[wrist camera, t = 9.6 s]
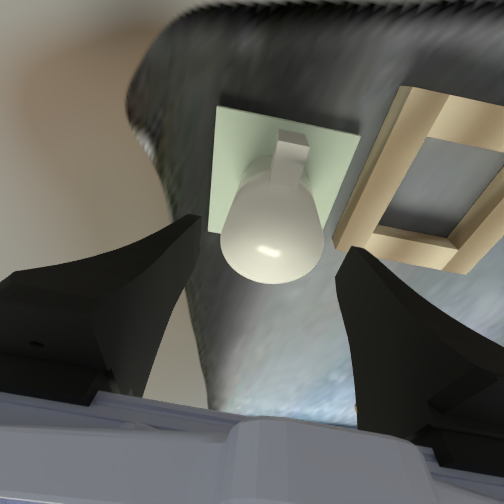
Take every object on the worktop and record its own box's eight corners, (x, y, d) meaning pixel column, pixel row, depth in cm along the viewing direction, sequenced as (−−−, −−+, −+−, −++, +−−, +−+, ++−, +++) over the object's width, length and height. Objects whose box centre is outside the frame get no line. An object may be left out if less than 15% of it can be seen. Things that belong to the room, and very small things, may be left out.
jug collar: (575, 123, 14) (605, 128, 13) (454, 262, 20) (465, 274, 19) (400, 85, 14) (412, 86, 12) (331, 238, 20) (335, 249, 19)
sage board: (358, 134, 15) (361, 136, 15) (313, 247, 21) (314, 251, 20) (218, 105, 15) (216, 106, 15) (209, 227, 20) (207, 231, 20)
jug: (298, 226, 19) (305, 291, 13) (235, 214, 19) (216, 274, 13) (330, 131, 15) (360, 166, 9) (250, 115, 15) (230, 140, 9)
